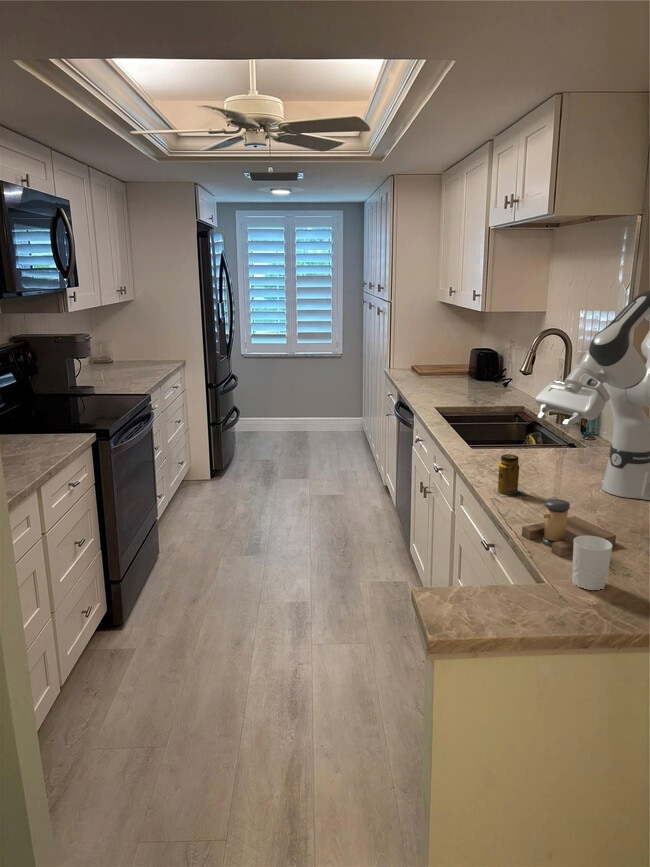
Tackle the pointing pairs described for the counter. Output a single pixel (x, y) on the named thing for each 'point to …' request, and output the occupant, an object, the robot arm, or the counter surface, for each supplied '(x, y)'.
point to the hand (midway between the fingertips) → (552, 422)
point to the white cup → (591, 562)
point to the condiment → (509, 476)
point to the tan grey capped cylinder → (555, 521)
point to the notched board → (568, 534)
